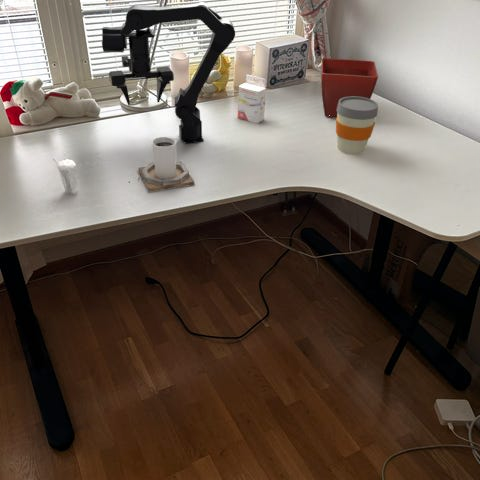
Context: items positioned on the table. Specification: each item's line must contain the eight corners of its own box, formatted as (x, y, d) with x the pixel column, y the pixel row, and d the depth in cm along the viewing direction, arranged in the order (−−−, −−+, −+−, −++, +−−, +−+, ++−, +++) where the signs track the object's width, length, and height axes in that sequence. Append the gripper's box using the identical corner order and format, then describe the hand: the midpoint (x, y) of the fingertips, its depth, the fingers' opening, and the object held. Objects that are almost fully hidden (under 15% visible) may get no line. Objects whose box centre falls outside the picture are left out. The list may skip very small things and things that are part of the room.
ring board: (181, 164, 156) (181, 157, 155) (194, 184, 146) (194, 177, 145) (138, 170, 152) (137, 163, 151) (148, 192, 142) (148, 184, 141)
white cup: (163, 182, 145) (161, 149, 139) (149, 173, 148) (146, 141, 143) (182, 174, 149) (181, 142, 143) (167, 166, 152) (166, 134, 147)
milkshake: (61, 188, 142) (55, 154, 137) (81, 187, 143) (75, 154, 137) (58, 196, 139) (51, 162, 133) (78, 196, 139) (72, 162, 133)
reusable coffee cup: (378, 148, 169) (386, 103, 160) (356, 160, 162) (365, 114, 153) (345, 136, 176) (352, 93, 167) (323, 147, 168) (329, 102, 160)
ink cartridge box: (236, 118, 186) (238, 77, 178) (244, 114, 190) (245, 73, 181) (257, 124, 183) (259, 82, 174) (264, 119, 186) (267, 78, 178)
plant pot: (316, 101, 203) (322, 57, 193) (366, 105, 201) (374, 60, 191) (315, 120, 187) (321, 73, 177) (369, 124, 185) (378, 77, 176)
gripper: (163, 43, 163) (166, 92, 172) (103, 47, 157) (108, 97, 166) (173, 52, 154) (175, 104, 163) (109, 57, 148) (115, 110, 157)
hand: (143, 103), depth 163 cm, fingers open, 9 cm apart
